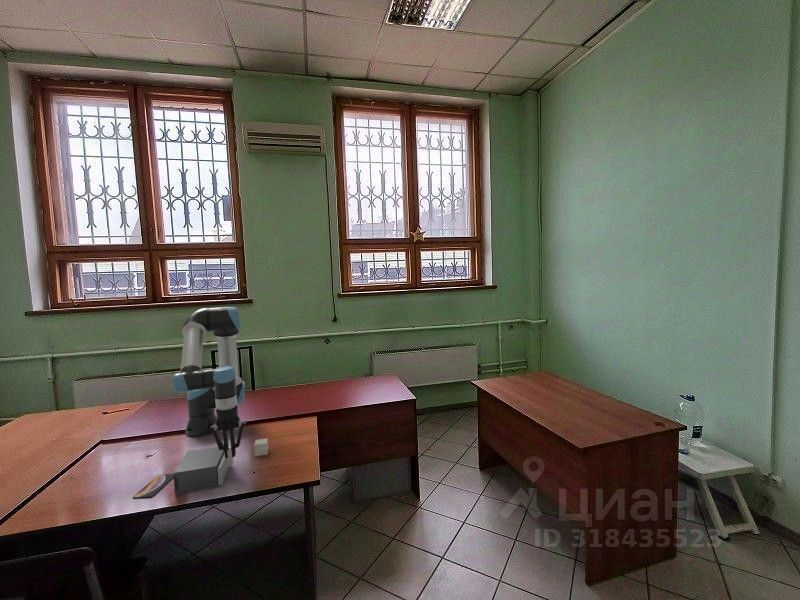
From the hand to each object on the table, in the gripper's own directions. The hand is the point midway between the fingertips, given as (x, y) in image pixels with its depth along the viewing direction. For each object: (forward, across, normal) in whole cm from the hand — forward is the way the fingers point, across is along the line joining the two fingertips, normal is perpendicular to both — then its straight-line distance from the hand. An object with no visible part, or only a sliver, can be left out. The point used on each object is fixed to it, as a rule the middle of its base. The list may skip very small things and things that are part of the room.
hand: (231, 464), depth 139 cm
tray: (+3, -9, 0) cm, 9 cm away
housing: (+3, -10, 0) cm, 11 cm away
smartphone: (+4, -26, 0) cm, 27 cm away
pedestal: (+4, +10, +14) cm, 17 cm away
